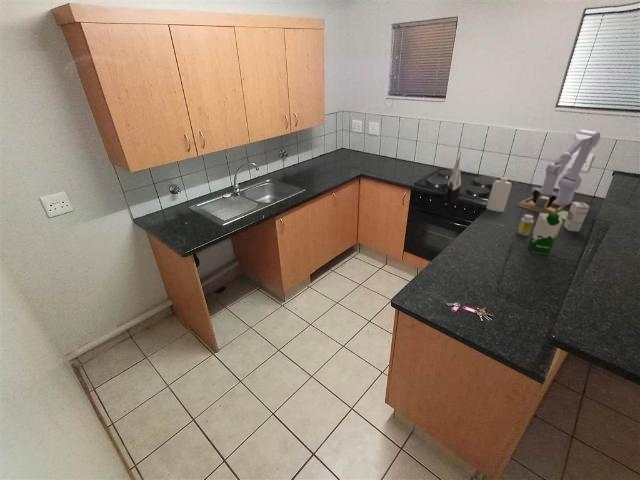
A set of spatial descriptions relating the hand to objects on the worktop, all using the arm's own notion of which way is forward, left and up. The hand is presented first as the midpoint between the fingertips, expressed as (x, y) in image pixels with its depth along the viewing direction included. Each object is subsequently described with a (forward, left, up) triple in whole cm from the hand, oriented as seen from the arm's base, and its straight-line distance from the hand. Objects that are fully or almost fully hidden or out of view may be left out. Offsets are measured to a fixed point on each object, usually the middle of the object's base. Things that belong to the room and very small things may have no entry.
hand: (541, 205), depth 194 cm
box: (0, 0, -2) cm, 2 cm away
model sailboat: (+30, -42, -2) cm, 52 cm away
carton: (0, 0, -2) cm, 2 cm away
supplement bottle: (+40, +10, -2) cm, 42 cm away
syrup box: (+14, +22, -2) cm, 27 cm away
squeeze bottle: (+24, -14, -2) cm, 29 cm away
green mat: (0, +13, -2) cm, 13 cm away
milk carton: (+51, +24, -2) cm, 57 cm away
